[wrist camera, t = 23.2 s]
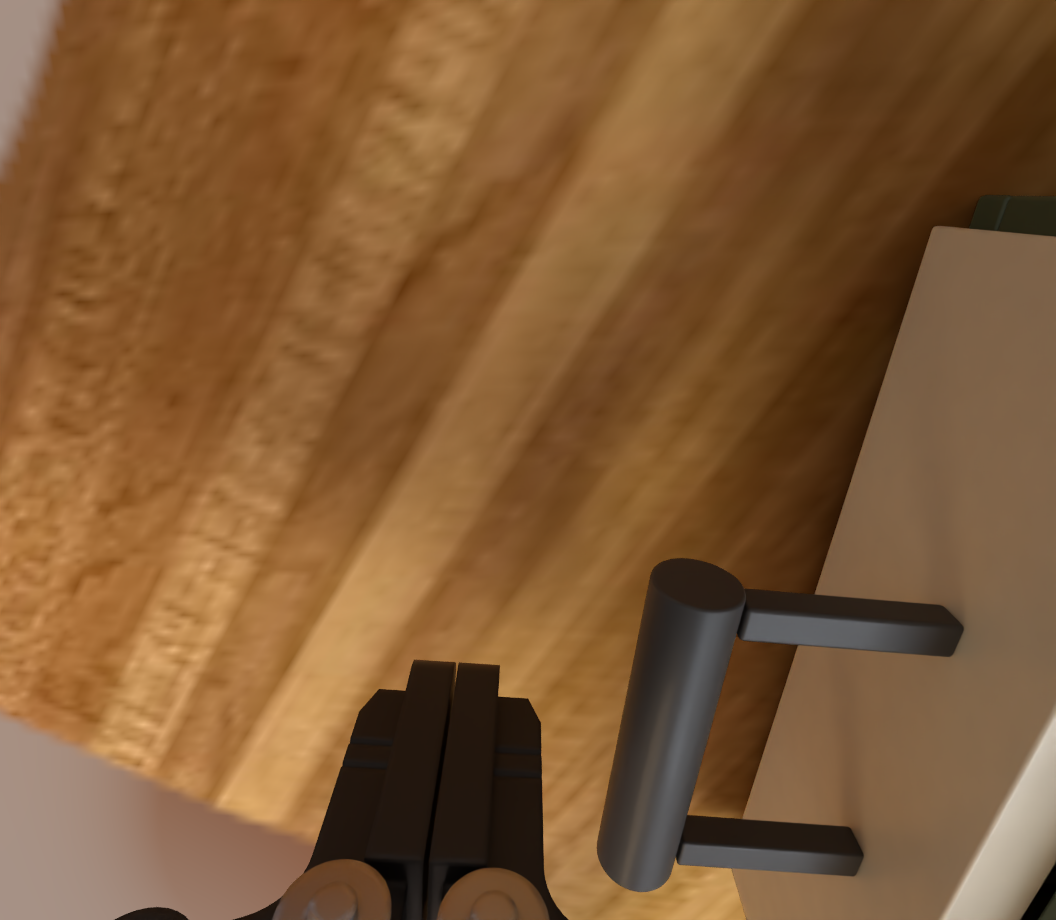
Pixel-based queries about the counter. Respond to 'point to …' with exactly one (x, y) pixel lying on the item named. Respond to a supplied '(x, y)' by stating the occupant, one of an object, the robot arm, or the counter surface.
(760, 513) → the counter surface
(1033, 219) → the cabinet
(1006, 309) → the drawer
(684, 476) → the counter surface
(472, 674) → the robot arm
